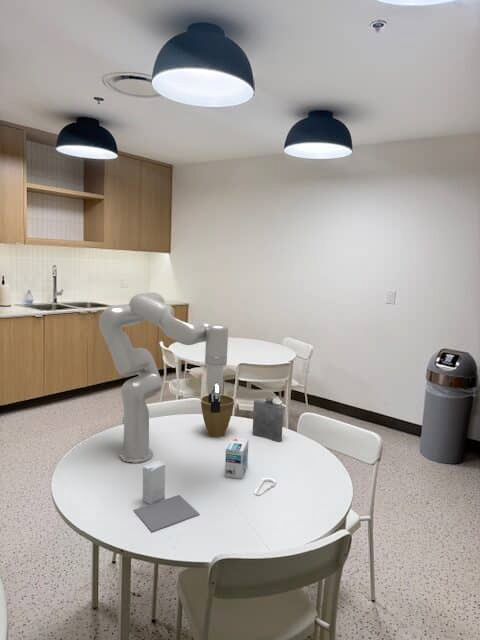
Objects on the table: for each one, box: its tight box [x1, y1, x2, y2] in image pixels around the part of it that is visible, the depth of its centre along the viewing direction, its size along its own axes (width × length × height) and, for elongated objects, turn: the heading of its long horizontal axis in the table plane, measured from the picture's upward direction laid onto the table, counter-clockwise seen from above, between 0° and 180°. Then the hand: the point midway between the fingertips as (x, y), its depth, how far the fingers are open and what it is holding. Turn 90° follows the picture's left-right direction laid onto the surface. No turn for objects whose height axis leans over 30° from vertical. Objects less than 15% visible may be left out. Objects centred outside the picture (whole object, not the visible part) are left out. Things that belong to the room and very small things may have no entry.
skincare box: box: [142, 460, 166, 505], centre depth 145 cm, size 6×4×12 cm
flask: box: [251, 397, 284, 443], centre depth 198 cm, size 4×14×18 cm, turn 58°
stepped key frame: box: [253, 476, 277, 497], centre depth 156 cm, size 13×5×2 cm, turn 159°
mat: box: [133, 494, 200, 533], centre depth 139 cm, size 13×16×1 cm
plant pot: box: [200, 394, 235, 438], centre depth 199 cm, size 15×15×16 cm
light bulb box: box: [224, 437, 249, 480], centre depth 166 cm, size 11×7×11 cm, turn 168°
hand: (213, 407), depth 157 cm, fingers open, 9 cm apart
